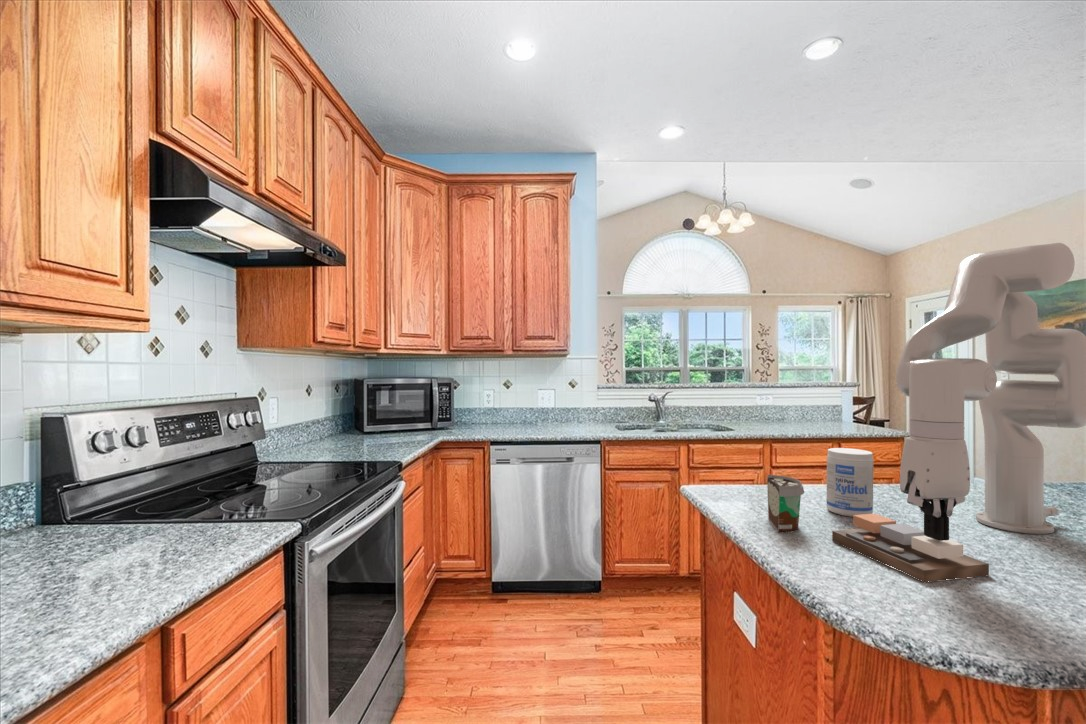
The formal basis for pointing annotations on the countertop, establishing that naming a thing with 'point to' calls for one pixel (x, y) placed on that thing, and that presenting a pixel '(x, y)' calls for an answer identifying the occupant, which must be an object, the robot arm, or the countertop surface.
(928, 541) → the cream key
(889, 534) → the grey key
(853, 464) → the supplement tub
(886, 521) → the terracotta key
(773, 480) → the food container
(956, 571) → the keypad board
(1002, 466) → the robot arm
